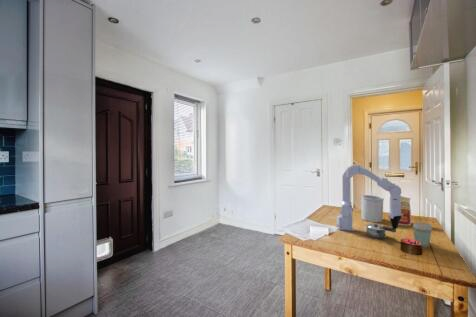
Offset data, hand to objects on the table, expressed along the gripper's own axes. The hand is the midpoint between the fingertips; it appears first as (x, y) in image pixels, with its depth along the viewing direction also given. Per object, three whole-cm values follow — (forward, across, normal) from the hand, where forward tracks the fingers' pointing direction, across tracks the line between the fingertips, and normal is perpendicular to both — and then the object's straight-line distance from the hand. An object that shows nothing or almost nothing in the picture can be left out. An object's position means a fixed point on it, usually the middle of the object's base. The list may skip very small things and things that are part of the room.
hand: (394, 227), depth 140 cm
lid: (+1, -6, +6) cm, 8 cm away
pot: (+6, -7, +8) cm, 12 cm away
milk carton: (+6, +34, +4) cm, 35 cm away
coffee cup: (+6, -3, -14) cm, 15 cm away
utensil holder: (+6, +28, +23) cm, 37 cm away
